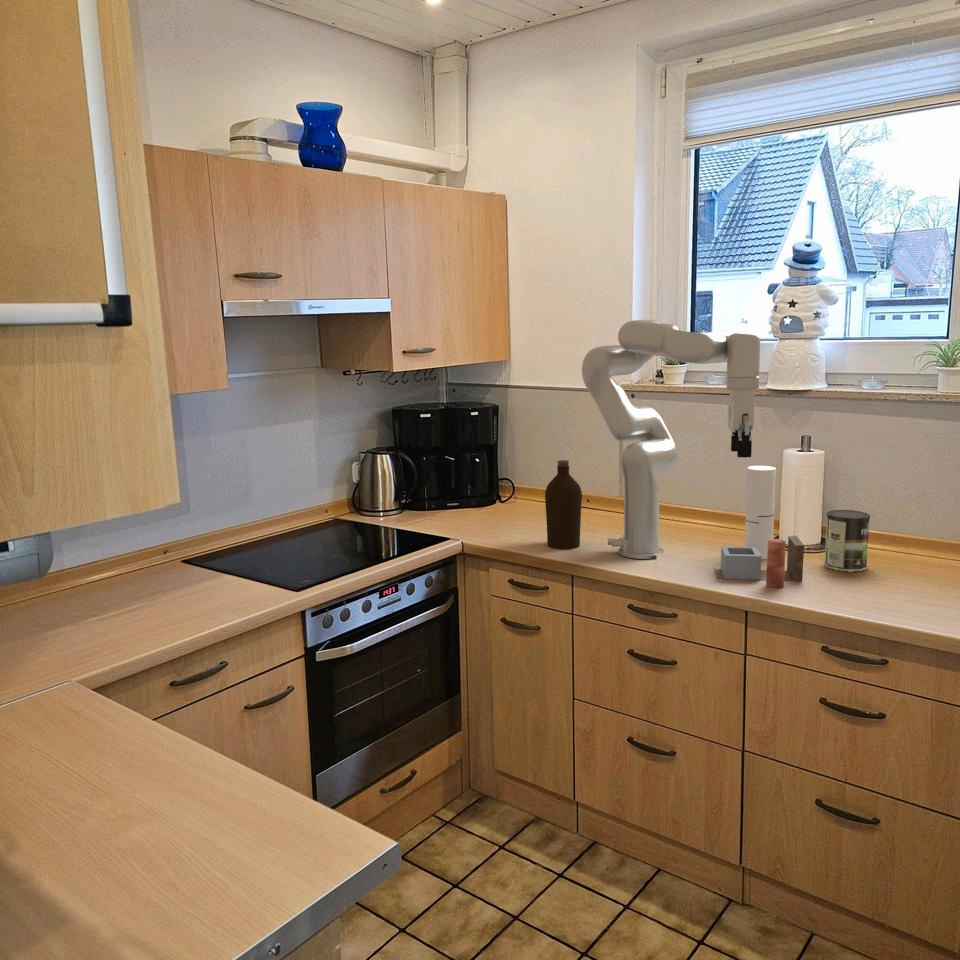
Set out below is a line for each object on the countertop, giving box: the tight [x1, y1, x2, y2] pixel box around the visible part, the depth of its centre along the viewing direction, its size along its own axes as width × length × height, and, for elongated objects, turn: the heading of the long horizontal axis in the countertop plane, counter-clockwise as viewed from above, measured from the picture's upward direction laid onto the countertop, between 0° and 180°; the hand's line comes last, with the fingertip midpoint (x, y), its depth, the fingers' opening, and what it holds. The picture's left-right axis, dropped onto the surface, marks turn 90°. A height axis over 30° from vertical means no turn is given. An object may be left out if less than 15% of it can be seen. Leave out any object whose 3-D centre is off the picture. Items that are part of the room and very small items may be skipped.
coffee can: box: [823, 509, 871, 573], centre depth 219 cm, size 10×10×14 cm
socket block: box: [720, 546, 762, 581], centre depth 212 cm, size 8×8×6 cm
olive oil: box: [544, 459, 583, 550], centre depth 245 cm, size 11×11×25 cm
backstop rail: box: [713, 535, 805, 583], centre depth 211 cm, size 20×9×10 cm, turn 80°
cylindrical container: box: [744, 465, 777, 560], centre depth 227 cm, size 7×7×25 cm
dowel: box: [765, 538, 787, 589], centre depth 202 cm, size 4×4×12 cm
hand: (740, 454), depth 209 cm, fingers open, 9 cm apart
